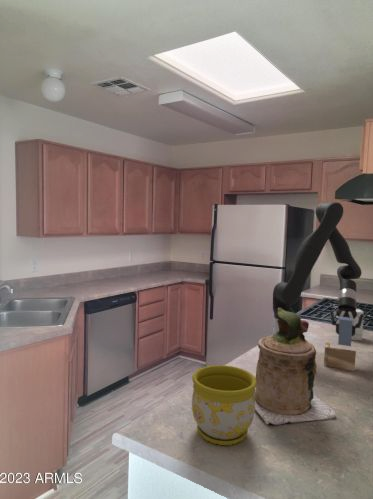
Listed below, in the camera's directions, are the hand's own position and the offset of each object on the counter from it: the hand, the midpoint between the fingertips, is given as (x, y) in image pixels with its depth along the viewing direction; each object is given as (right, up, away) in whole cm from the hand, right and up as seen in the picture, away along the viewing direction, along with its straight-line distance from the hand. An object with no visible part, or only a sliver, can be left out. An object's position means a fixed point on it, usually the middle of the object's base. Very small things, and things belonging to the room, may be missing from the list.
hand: (345, 334), depth 156 cm
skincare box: (+21, -12, +40) cm, 46 cm away
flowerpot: (-57, -17, -51) cm, 78 cm away
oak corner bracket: (-1, -14, +4) cm, 14 cm away
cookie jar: (-35, -16, -33) cm, 51 cm away
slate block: (+1, -5, +2) cm, 5 cm away
